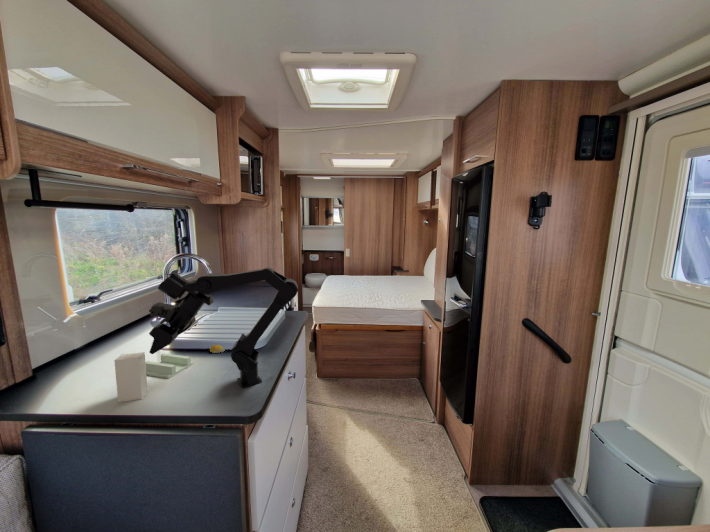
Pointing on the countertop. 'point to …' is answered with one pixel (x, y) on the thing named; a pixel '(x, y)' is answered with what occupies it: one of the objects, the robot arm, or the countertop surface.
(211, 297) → the robot arm
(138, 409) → the countertop surface
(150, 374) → the tile rack
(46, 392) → the countertop surface
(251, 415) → the countertop surface
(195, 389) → the countertop surface
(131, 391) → the beige rectangular box
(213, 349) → the bread roll
